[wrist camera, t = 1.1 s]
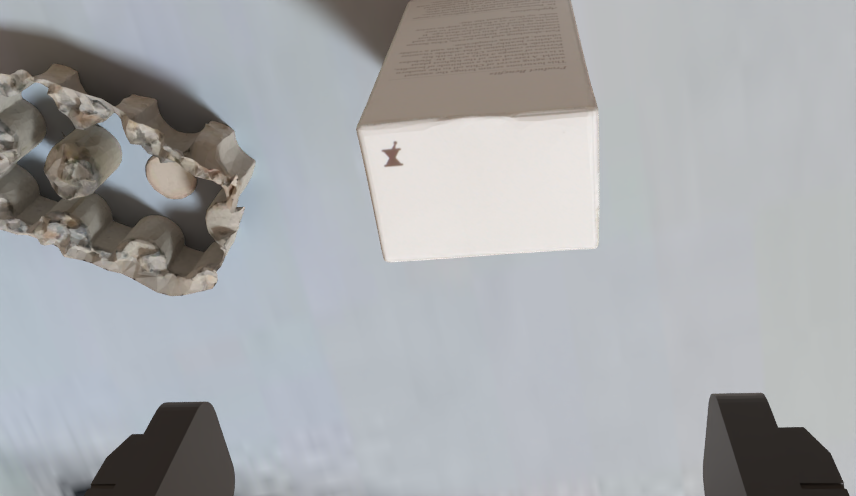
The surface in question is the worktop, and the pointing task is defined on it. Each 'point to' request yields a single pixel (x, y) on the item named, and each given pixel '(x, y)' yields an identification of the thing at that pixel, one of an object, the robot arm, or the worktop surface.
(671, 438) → the worktop surface
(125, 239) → the egg carton
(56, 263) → the worktop surface
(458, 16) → the skincare box
